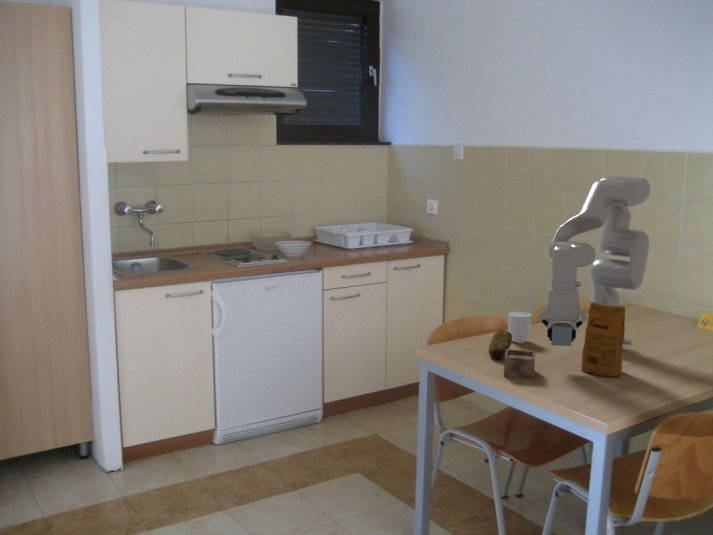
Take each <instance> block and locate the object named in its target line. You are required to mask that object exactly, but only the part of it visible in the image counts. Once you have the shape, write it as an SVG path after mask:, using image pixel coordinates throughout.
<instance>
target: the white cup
mask: <svg viewBox="0 0 713 535" xmlns="http://www.w3.org/2000/svg"><path fill="white" fill-rule="evenodd" d="M531 319H532V314H530V313H529V312H524V311H510V312H509V313H508V332H510V333H511V335H512V341H513V342H518V343H517V344H525V343H524V342H527V343H528V342H529V335H530V330H531V329H530V327H531V321H532V320H531ZM513 342H512V343H513Z"/></svg>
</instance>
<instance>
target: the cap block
mask: <svg viewBox="0 0 713 535" xmlns="http://www.w3.org/2000/svg"><path fill="white" fill-rule="evenodd" d="M550 342H551V346H561V347H562V346H563V347H572V343H573V342H572V324H571V321H554V322H553V324H552V340H551V341H550Z"/></svg>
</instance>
